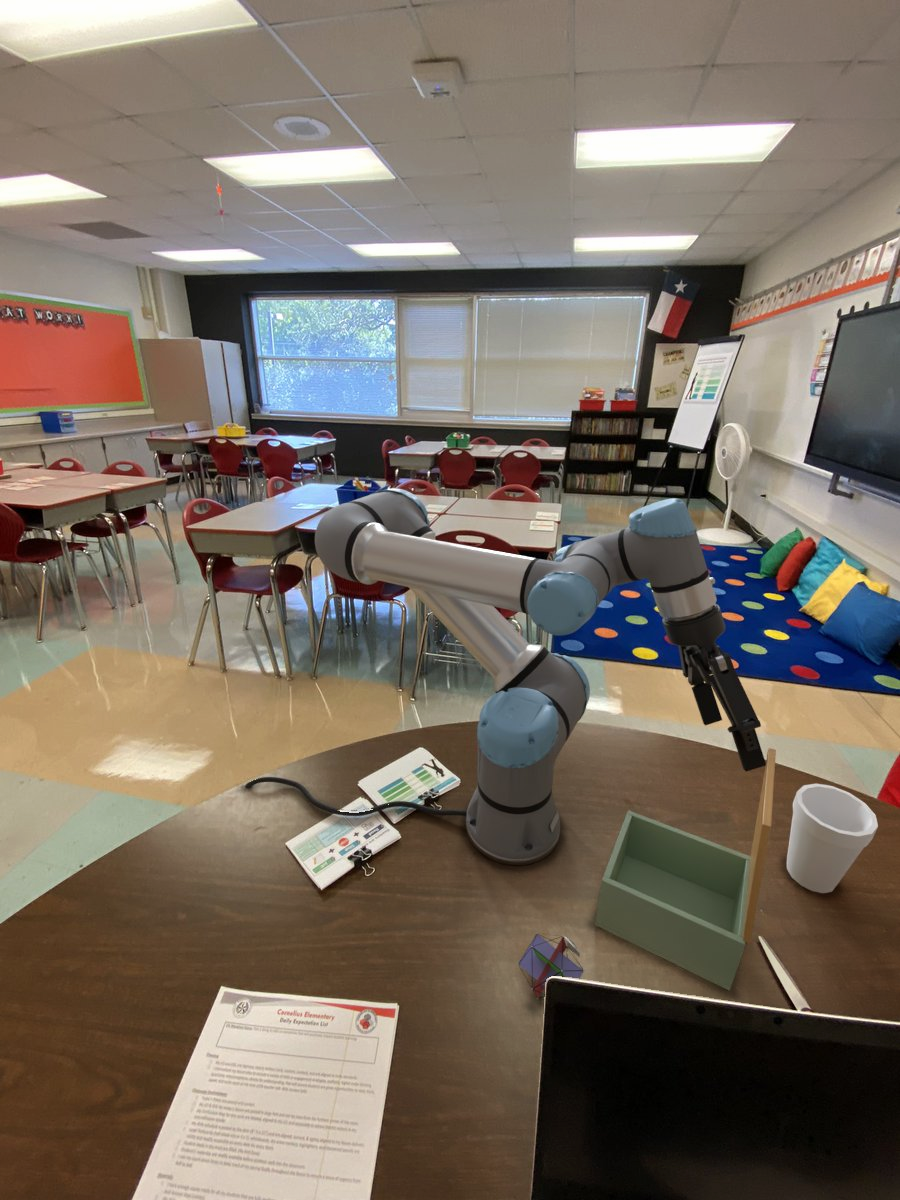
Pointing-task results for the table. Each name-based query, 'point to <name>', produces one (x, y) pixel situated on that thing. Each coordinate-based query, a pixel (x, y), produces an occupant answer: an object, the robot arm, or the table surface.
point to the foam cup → (827, 835)
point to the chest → (676, 897)
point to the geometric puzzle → (549, 961)
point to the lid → (759, 844)
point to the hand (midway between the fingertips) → (732, 742)
